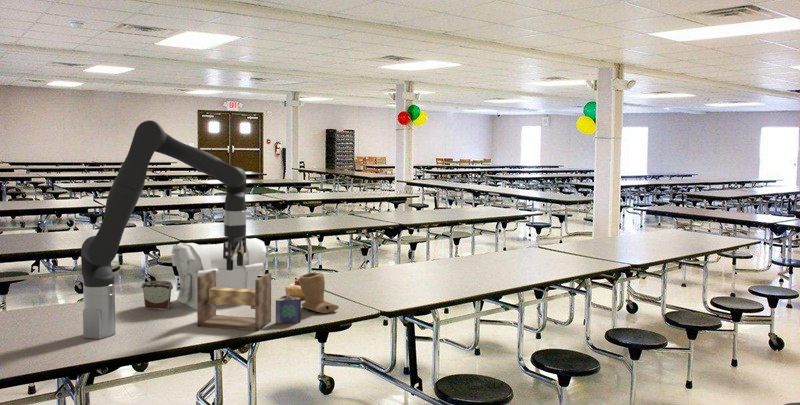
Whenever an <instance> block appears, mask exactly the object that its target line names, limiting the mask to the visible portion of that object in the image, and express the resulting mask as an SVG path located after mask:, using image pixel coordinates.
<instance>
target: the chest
mask: <svg viewBox="0 0 800 405" xmlns="http://www.w3.org/2000/svg"><path fill="white" fill-rule="evenodd" d="M223 243H224V242H223ZM223 243H216V244H215V243H213V244H212V243H209V244H198V243H195V242H186V243H185V242H184V243H183V244H182V245H177V244H176V245H175V244H173V245H172V249H171V255H170V256H171V262H172V267H176V270H177V273H178V277H179V285H180V286H179V290H178V295H177V298H176V301H178V302H180V303H182V304H184V305H186V306H188V307H191V308H192V309H195V310H197V276H200V275H202V274H205V273H207V272H209V271H212V270H216V287H221V288H238V289H254V290H255V280H256V279H258V278H259V277H258V276H259V275H260V273H261V270H264V269H265V268H264V267H265V266H264V265H265V264H266V255H267V249H266V246H265V244H264V241H263V240H261V239H259V238H256V237H255V238H247V237H246V253H244V255H243V266H237V254H235V255H234V258H233V270H227V260H226V259H223ZM226 254H227V253H226ZM231 255H232V254H231ZM222 305H224V304H216V307H217V306H222Z"/></svg>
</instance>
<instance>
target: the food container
mask: <svg viewBox="0 0 800 405" xmlns="http://www.w3.org/2000/svg"><path fill="white" fill-rule="evenodd" d="M140 288H141V289H142V291H143V292H142V293H143V302H144V308H145V309H148V310H149V309H153V310H166V311H167V310H169V309H170V306H171V297H172V290H173V289H174V286H173V283H172V282H171V281H169V280H151V281H150V280H149V281H145V282H142V284H141V287H140Z"/></svg>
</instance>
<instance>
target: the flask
mask: <svg viewBox="0 0 800 405" xmlns="http://www.w3.org/2000/svg"><path fill="white" fill-rule="evenodd" d="M285 295H286V298H277V299H276V300H275V324H276V325H288V324H299V323H301V322H302V319H301V318H302V317H301V316H302V310H301V309H302V299H300V298H297V297H295V298H294V297H291V296H290V294H286V293H285Z"/></svg>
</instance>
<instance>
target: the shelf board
mask: <svg viewBox="0 0 800 405" xmlns="http://www.w3.org/2000/svg"><path fill="white" fill-rule="evenodd" d="M209 303H214V304H223V305H230V306H246V307H247V306H250V307H251V306H255V290H254V289H238V288H221V287H213V288H211V289H209Z"/></svg>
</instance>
